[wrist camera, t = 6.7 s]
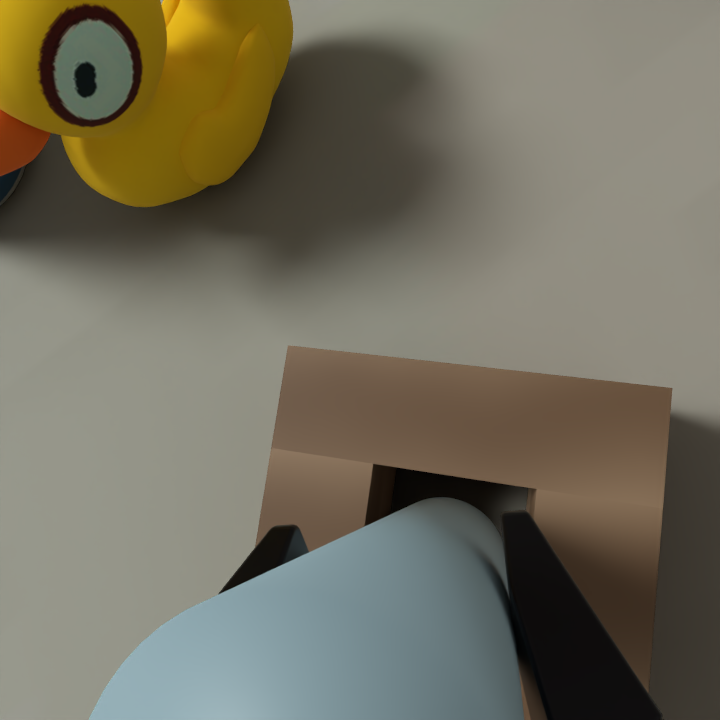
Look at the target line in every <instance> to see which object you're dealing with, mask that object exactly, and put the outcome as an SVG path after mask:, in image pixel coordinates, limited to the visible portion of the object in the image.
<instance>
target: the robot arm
mask: <svg viewBox="0 0 720 720" xmlns="http://www.w3.org/2000/svg"><path fill="white" fill-rule="evenodd" d="M500 518H501V528H502V537H503V546H504V556H505V565H506V574H507V582H508V591H509V599H510V607H511V615H512V621H513V626H514V631H515V636H516V645H517V654H518V664H519V670H520V675H521V680H522V684H523V688H524V692H525V697H526V701H527V705H528V710H529V714H530V718H531V720H662V713H661V712H660V710H659V709H658V707H657V706H656V704H655V703H654V701H653V700H652V698H651V697H650V695H649V694H648V692H647V691H646V689H645V688H644V686H643V685H642V683H641V681H640V680H639V678H638V677H637V675H636V674H635V672H634V671H633V669H632V668H631V666H630V665H629V663H628V662H627V660H626V659H625V657H624V656H623V654H622V653H621V651H620V650H619V648H618V647H617V645H616V644H615V642H614V641H613V639H612V637H611V636H610V634H609V633H608V631H607V630H606V628H605V627H604V625H603V624H602V622H601V621H600V619H599V618H598V616H597V615H596V613H595V612H594V610H593V609H592V607H591V606H590V604H589V603H588V601H587V600H586V598H585V597H584V595H583V594H582V592H581V590H580V589H579V587H578V586H577V584H576V583H575V581H574V580H573V578H572V577H571V575H570V574H569V572H568V571H567V569H566V568H565V566H564V565H563V563H562V562H561V560H560V559H559V557H558V556H557V554H556V553H555V551H554V550H553V548H552V546H551V545H550V543H549V542H548V540H547V539H546V537H545V536H544V534H543V533H542V531H541V530H540V528H539V527H538V525H537V524H536V522H535V521H534V519H533V518H532V516H531V515H530V514H529V513H528V512H527V511H525V510H518V511H504V512H502V513H501V515H500ZM307 553H309V551H308V548H307V546H306V543H305V540H304V538H303V535H302V533H301V530H300V529H299V527H298V526H297V525H294V524H290V525H276V526H274V527H272V528H271V529H270V530H269V531H268V532H267V533H266V535H265V536H264V537H263V538H262V540H261V541H260V542H259V543H258V545H257V546H256V547H255V548H254V550H253V551H252V552H251V553H250V555H249V556H248V557H247V559H246V560H245V561H244V562H243V564H242V565H241V566H240V567H239V569H238V570H237V571H236V572H235V574H234V575H233V576H232V577H231V579H230V580H229V581H228V582H227V584H226V585H225V586H224V587H223V589H222V590H221V591H220V592H219V594H221V593H223V592H225V591H227V590H229V589H232V588H234V587H236V586H238V585H240V584H242V583H244V582H247V581H249V580H251V579H253V578H255V577H257V576H259V575H262V574H264V573H266V572H268V571H270V570H272V569H274V568H277V567H279V566H281V565H283V564H285V563H287V562H290V561H292V560H294V559H296V558H298V557H300V556H302V555H305V554H307ZM219 594H218V595H219Z"/></svg>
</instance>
